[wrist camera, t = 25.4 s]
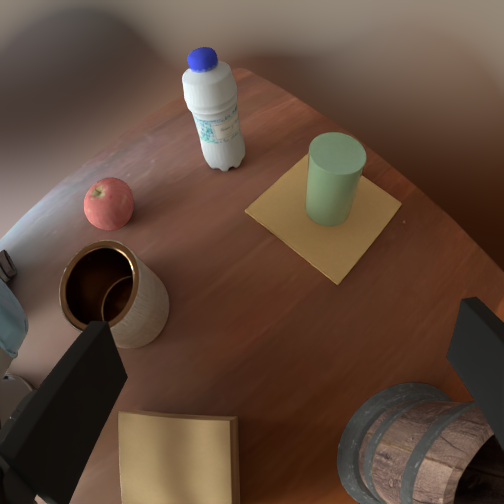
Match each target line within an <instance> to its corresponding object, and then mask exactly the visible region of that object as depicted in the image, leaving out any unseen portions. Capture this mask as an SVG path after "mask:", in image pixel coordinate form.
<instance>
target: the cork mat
mask: <svg viewBox="0 0 504 504" xmlns="http://www.w3.org/2000/svg"><path fill="white" fill-rule="evenodd" d="M308 157H309V153H308V154H307V155H306V156H305V157H303V158H302V159H301V160H300V161H299V162H298V163H297V164H295V165H294V166H293V167H292V168H291V169H290V170H289V171H288V172H286V173H285V174H284V175H283V176H282V177H281V178H280V179H279V180H277V181H276V182H275V183H274V184H273V185H272V186H271V187H270V188H268V189H267V190H266V191H265V192H264V193H263V194H262V195H261V196H260V197H259V198H257V199H256V200H255V201H254V202H253V203H252V204H251V205H250V206H249V207H248V208H246V209H245V212H246V213H247V214H248V215H250V216H251V217H252V218H254V219H255V220H256V221H257V222H259V223H260V224H261V225H262V226H264V227H265V228H266V229H268V230H269V231H270V232H271V233H273V234H274V235H275V236H276V237H278V238H279V239H280V240H282V241H283V242H284V243H285V244H287V245H288V246H289V247H290V248H292V249H293V250H294V251H295V252H297V253H298V254H299V255H300V256H302V257H303V258H304V259H305V260H307V261H308V262H309V263H310V264H312V265H313V266H314V267H315V268H317V269H318V270H319V271H320V272H321V273H323V274H324V275H325V276H326V277H328V278H329V279H330V280H331V281H333V282H334V283H335V284H336V285H339V283H340V282H341V281H342V280H343V279H344V277H345V276H346V275H347V274H348V273H349V271H350V270H351V269H352V268H353V267H354V265H355V264H356V263H357V262H358V260H359V259H360V258H361V257H362V256H363V254H364V253H365V252H366V251H367V249H368V248H369V247H370V246H371V244H372V243H373V242H374V241H375V239H376V238H377V237H378V235H379V234H380V233H381V232H382V230H383V229H384V228H385V226H386V225H387V224H388V223H389V221H390V220H391V219H392V217H393V216H394V215H395V213H396V212H397V211H398V209H399V208H400V207H401V205H402V203H400V202H399V201H398V200H396V199H395V198H394V197H392V196H391V195H389V194H388V193H387V192H385V191H384V190H382V189H381V188H380V187H378V186H377V185H375V184H374V183H372V182H371V181H369V180H368V179H367V178H365V177H364V176H361V179H360V183H359V186H358V189H357V192H356V196H355V199H354V202H353V205H352V208H351V211H350V214H349V216H348V218H347V219H346V220H345V221H344V222H343V223H341V224H339V225H336V226H323V225H320V224H317V223H316V222H314V221H313V220H311V219H310V217H309V216H308V215H307V213H306V211H305V205H304V204H305V193H306V182H307V170H308Z"/></svg>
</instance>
